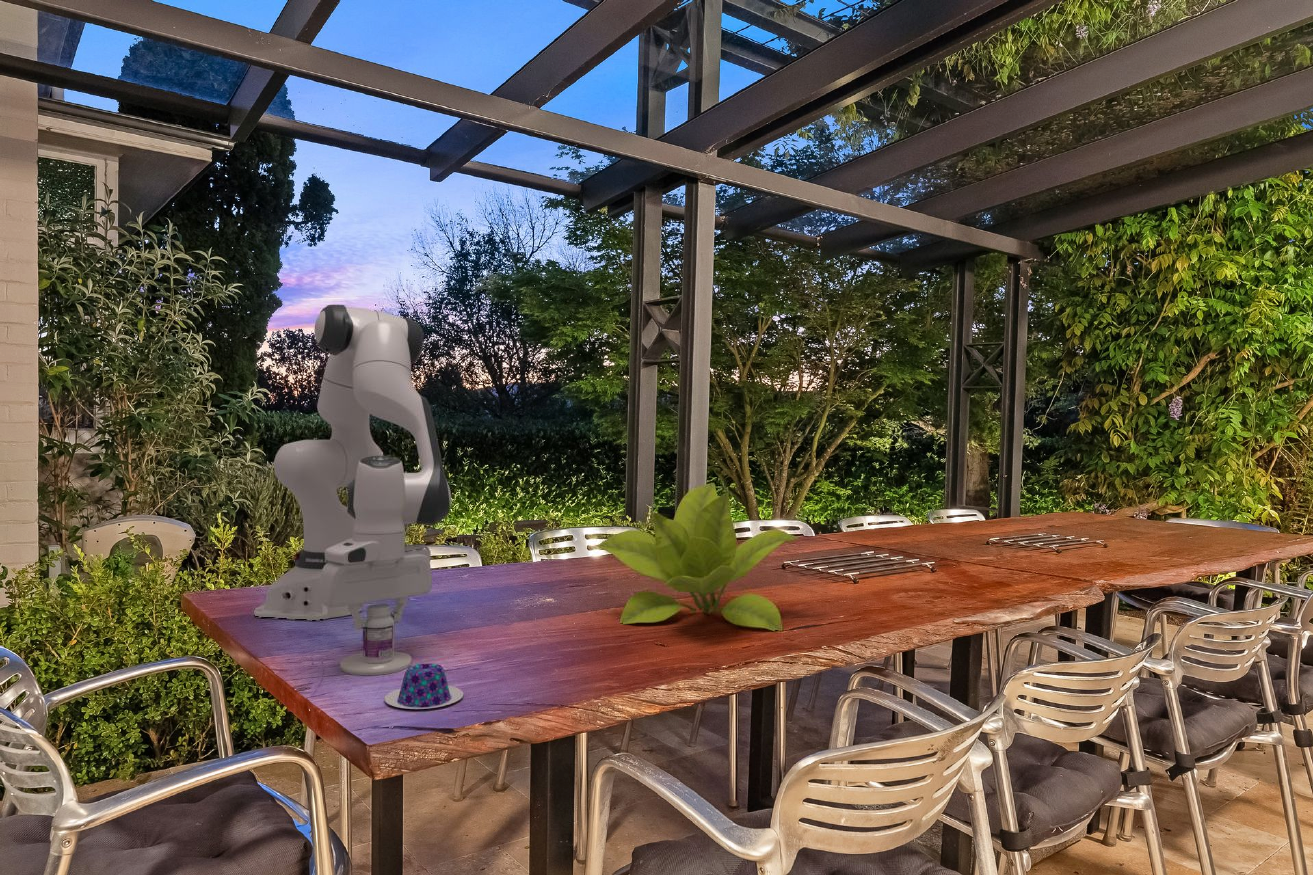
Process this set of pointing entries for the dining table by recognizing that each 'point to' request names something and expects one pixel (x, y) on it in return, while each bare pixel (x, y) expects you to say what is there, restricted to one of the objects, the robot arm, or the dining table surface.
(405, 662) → the coaster
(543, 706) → the dining table surface
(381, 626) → the pill bottle
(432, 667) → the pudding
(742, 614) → the artificial plant
